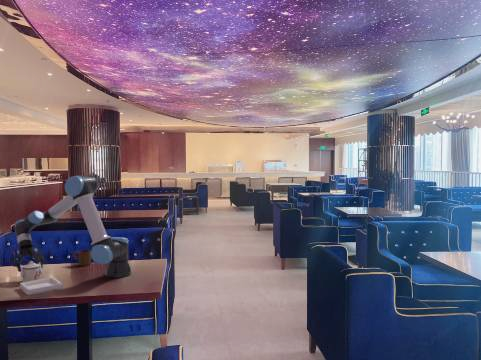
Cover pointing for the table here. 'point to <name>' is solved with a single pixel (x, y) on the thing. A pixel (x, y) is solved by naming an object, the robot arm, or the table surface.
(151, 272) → the table surface
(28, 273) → the teacup with lid
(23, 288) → the tray
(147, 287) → the table surface
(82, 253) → the mug
